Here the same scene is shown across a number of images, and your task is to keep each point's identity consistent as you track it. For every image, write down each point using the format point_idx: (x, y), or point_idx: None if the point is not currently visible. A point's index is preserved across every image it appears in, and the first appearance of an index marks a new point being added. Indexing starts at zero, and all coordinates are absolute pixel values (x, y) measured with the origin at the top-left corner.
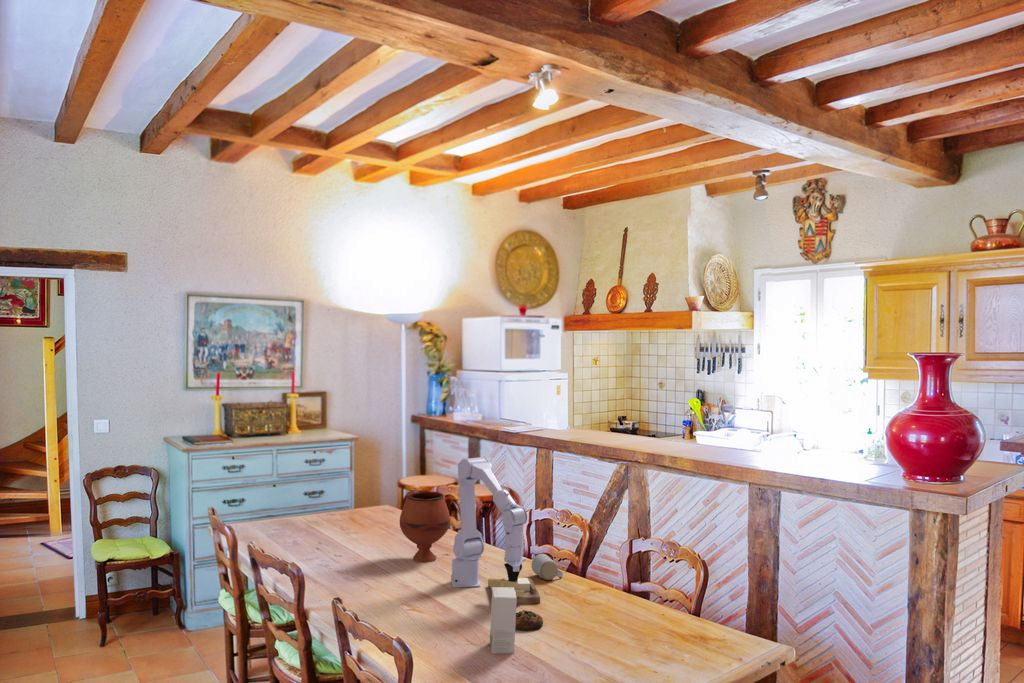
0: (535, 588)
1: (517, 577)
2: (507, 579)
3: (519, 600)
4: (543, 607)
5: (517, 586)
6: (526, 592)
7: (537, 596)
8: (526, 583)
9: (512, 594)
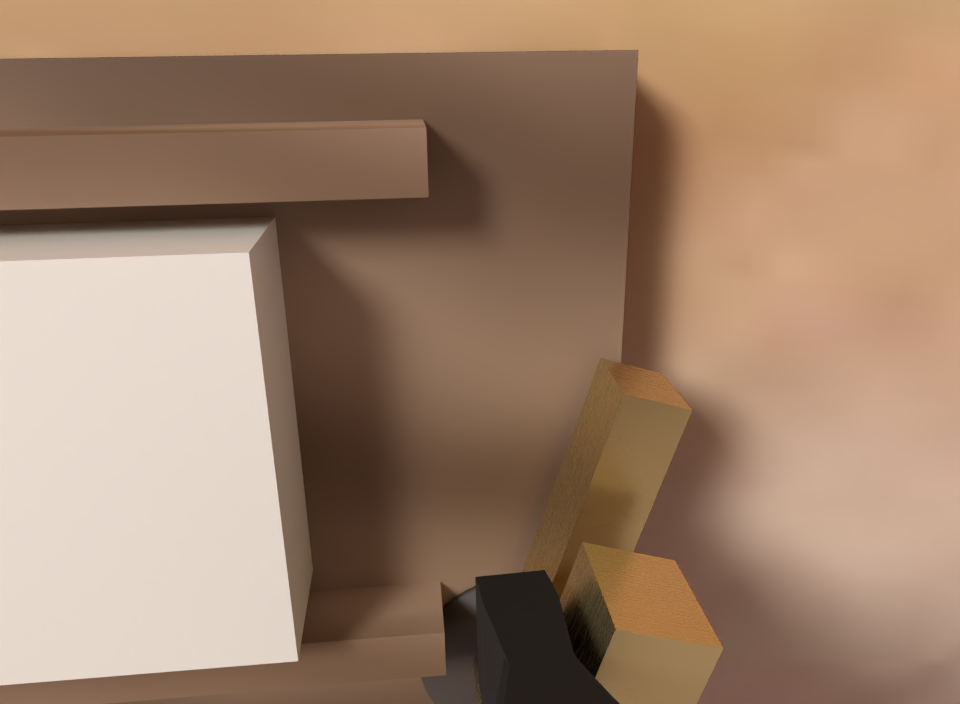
0: (79, 73)
1: (607, 694)
2: (2, 684)
3: None
4: (804, 19)
5: (641, 567)
6: (354, 290)
7: (593, 102)
8: (245, 335)
9: None
